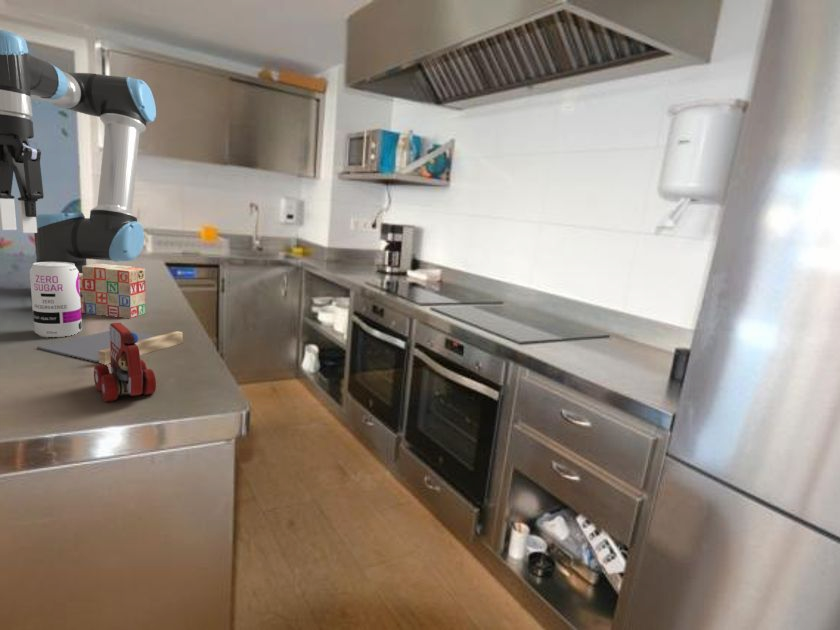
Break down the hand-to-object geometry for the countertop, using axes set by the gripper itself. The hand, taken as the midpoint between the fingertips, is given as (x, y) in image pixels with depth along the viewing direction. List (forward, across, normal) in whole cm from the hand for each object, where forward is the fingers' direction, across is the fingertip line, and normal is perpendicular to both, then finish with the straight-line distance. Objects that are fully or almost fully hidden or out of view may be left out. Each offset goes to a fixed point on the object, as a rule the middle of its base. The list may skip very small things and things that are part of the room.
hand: (18, 231), depth 103 cm
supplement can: (+21, +10, 0) cm, 23 cm away
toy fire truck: (+21, +48, -16) cm, 55 cm away
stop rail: (+21, +34, 0) cm, 40 cm away
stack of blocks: (+21, -1, +18) cm, 28 cm away
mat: (+21, +25, 0) cm, 33 cm away
